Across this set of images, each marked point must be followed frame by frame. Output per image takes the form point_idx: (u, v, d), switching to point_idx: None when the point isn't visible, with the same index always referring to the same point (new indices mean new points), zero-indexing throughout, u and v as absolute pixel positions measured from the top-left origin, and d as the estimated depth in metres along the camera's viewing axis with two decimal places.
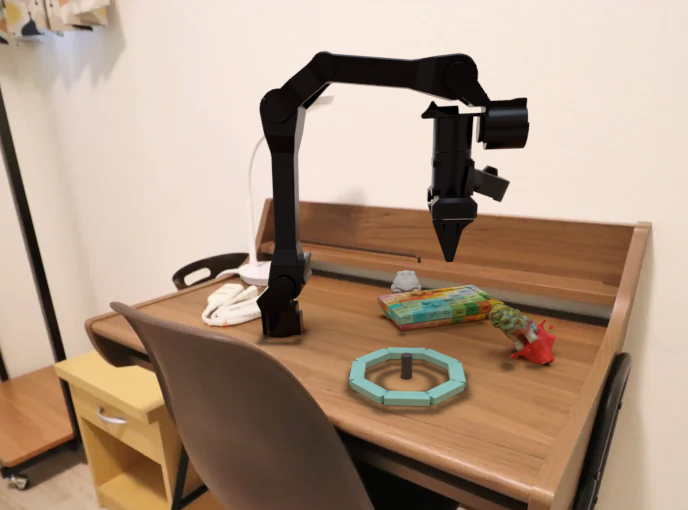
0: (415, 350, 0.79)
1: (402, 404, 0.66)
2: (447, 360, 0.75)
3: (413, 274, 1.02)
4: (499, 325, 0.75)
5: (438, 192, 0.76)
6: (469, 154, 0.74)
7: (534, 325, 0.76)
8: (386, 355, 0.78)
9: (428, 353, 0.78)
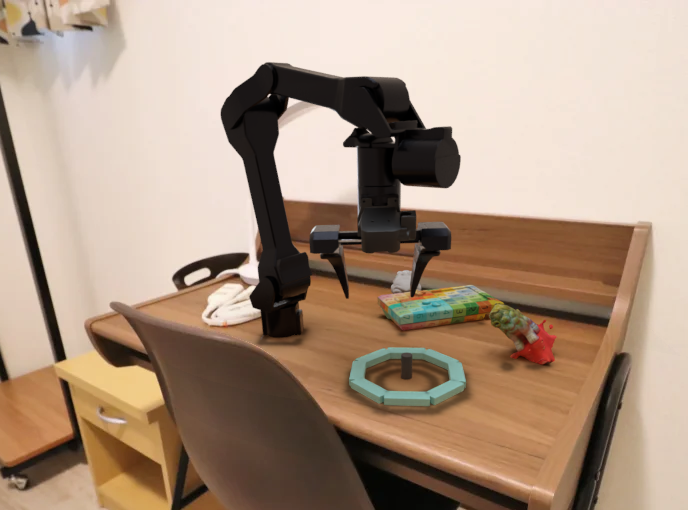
0: (415, 350, 0.79)
1: (402, 404, 0.66)
2: (447, 360, 0.75)
3: None
4: (499, 325, 0.75)
5: None
6: (368, 190, 0.65)
7: (534, 325, 0.76)
8: (386, 355, 0.78)
9: (428, 353, 0.78)
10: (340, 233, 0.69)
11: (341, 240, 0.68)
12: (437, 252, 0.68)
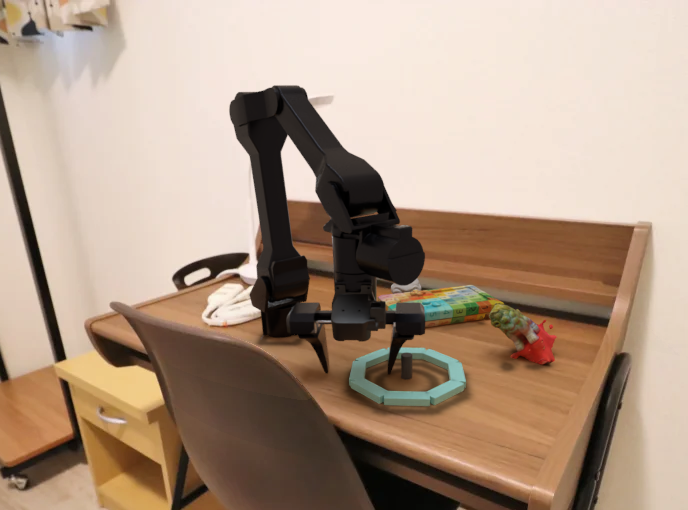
0: (415, 350, 0.79)
1: (402, 404, 0.66)
2: (447, 360, 0.75)
3: None
4: (499, 325, 0.75)
5: None
6: (342, 277, 0.66)
7: (534, 325, 0.76)
8: (386, 355, 0.78)
9: (428, 353, 0.78)
10: (318, 313, 0.71)
11: (318, 321, 0.70)
12: (411, 336, 0.68)
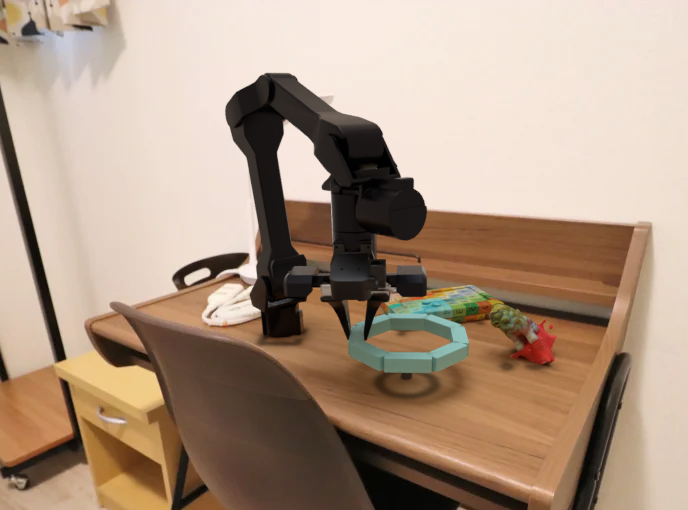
0: (416, 316, 0.77)
1: (403, 365, 0.64)
2: (449, 324, 0.73)
3: None
4: (499, 325, 0.75)
5: None
6: (341, 236, 0.64)
7: (534, 325, 0.76)
8: (386, 320, 0.76)
9: (430, 318, 0.76)
10: (316, 276, 0.68)
11: None
12: (386, 298, 0.66)
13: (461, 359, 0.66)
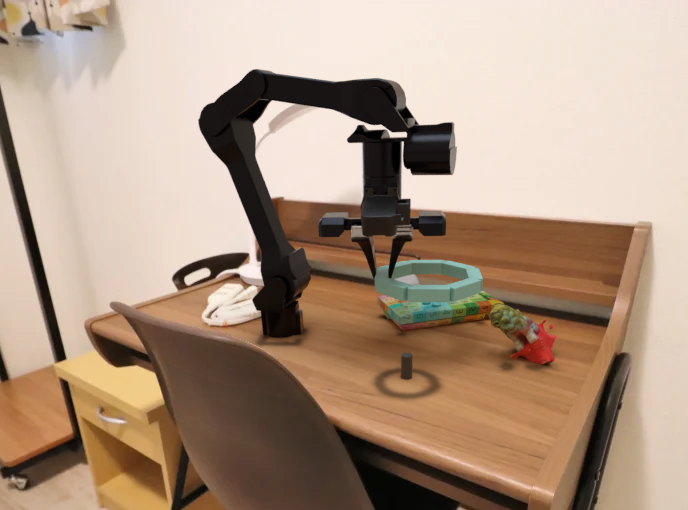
0: (435, 261, 0.85)
1: (424, 294, 0.72)
2: (465, 266, 0.81)
3: (413, 274, 1.02)
4: (499, 325, 0.75)
5: None
6: (370, 181, 0.72)
7: (534, 325, 0.76)
8: (408, 265, 0.84)
9: (447, 263, 0.84)
10: (347, 219, 0.77)
11: None
12: (409, 238, 0.75)
13: (476, 292, 0.75)
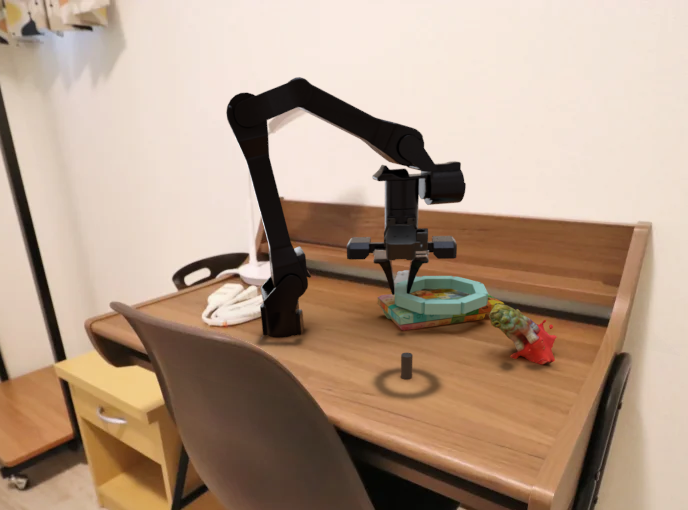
0: (445, 277, 0.98)
1: (439, 308, 0.85)
2: (471, 282, 0.94)
3: None
4: (499, 325, 0.75)
5: None
6: (392, 212, 0.85)
7: (534, 325, 0.76)
8: (421, 280, 0.97)
9: (455, 278, 0.97)
10: (370, 244, 0.90)
11: None
12: (426, 260, 0.87)
13: (482, 305, 0.87)
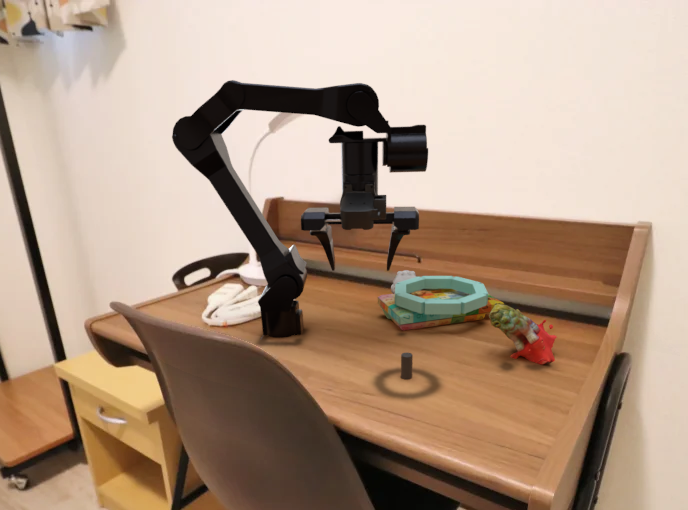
0: (445, 277, 0.98)
1: (439, 308, 0.85)
2: (471, 282, 0.94)
3: (413, 274, 1.02)
4: (499, 325, 0.75)
5: None
6: (349, 178, 0.78)
7: (534, 325, 0.76)
8: (421, 280, 0.97)
9: (455, 278, 0.97)
10: (327, 214, 0.83)
11: (327, 220, 0.82)
12: (407, 231, 0.80)
13: (482, 305, 0.87)
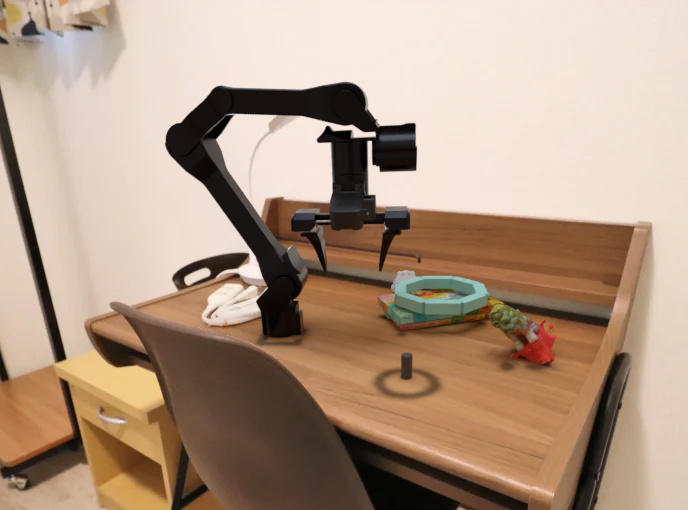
0: (445, 277, 0.98)
1: (439, 308, 0.85)
2: (471, 282, 0.94)
3: (413, 274, 1.02)
4: (499, 325, 0.75)
5: None
6: (338, 178, 0.77)
7: (534, 325, 0.76)
8: (421, 280, 0.97)
9: (455, 278, 0.97)
10: (318, 215, 0.82)
11: (318, 220, 0.81)
12: (398, 231, 0.79)
13: (482, 305, 0.87)
